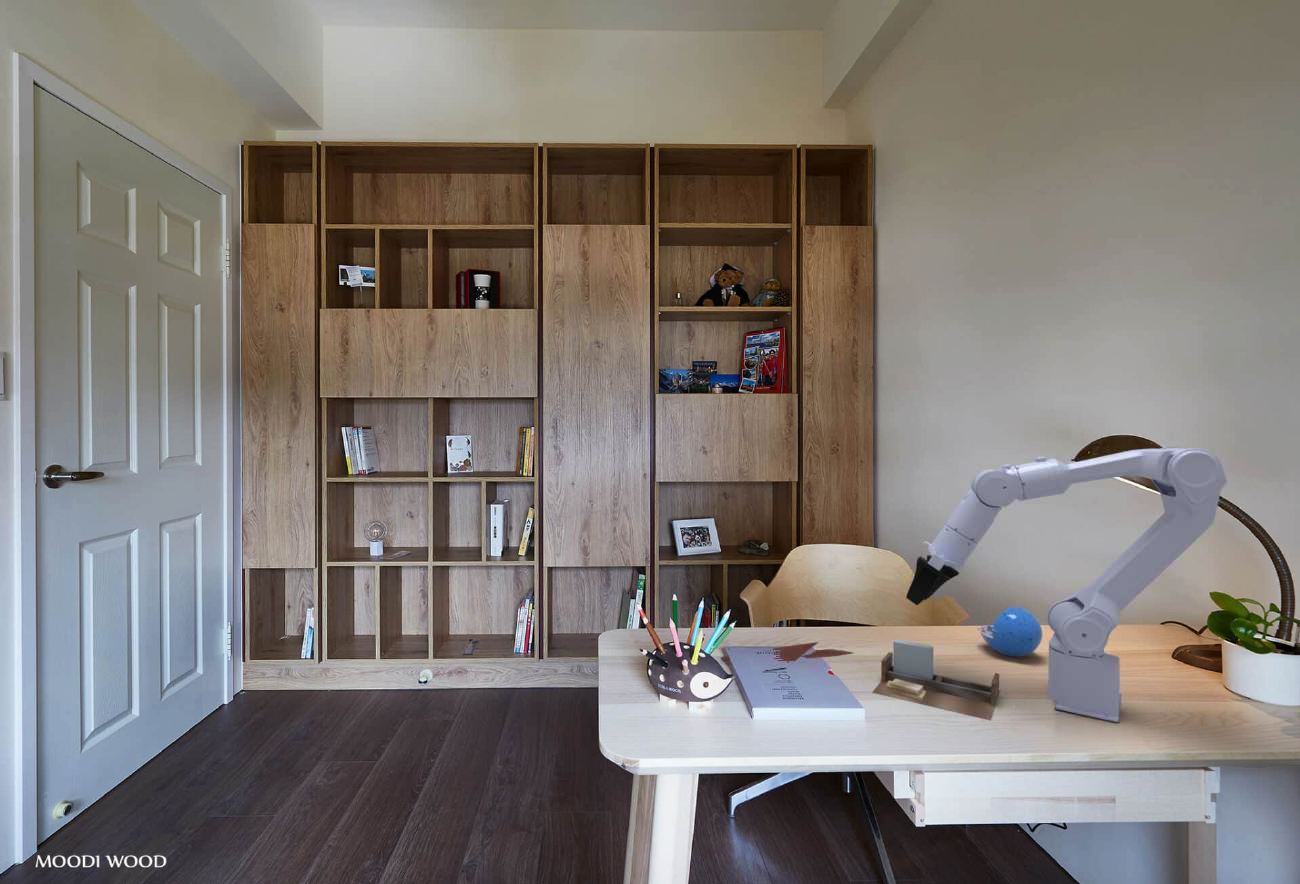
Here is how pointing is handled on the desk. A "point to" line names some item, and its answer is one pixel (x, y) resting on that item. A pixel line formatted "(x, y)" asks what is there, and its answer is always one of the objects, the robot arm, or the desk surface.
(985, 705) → the board with sliding block
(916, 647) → the slate board
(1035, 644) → the cell model
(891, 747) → the desk surface
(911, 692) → the offcut stack
